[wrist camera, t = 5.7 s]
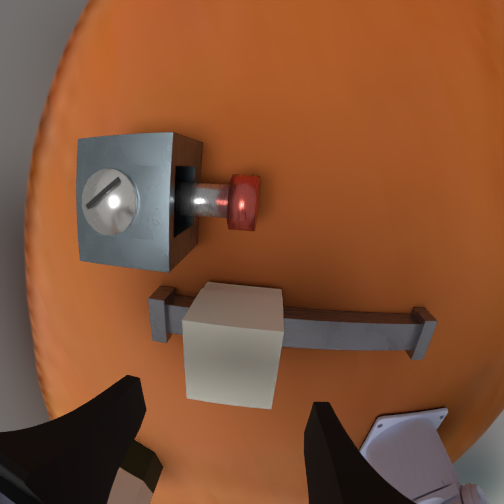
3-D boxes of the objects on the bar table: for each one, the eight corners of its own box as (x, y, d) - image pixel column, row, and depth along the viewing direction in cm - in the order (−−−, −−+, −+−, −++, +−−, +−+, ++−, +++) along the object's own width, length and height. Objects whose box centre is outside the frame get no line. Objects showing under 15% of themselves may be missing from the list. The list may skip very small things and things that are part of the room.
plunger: (256, 225, 15) (253, 236, 13) (179, 219, 15) (161, 229, 13) (260, 175, 14) (257, 176, 12) (180, 171, 15) (162, 172, 12)
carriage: (273, 354, 19) (271, 409, 14) (206, 346, 19) (187, 398, 14) (282, 286, 17) (283, 331, 12) (207, 278, 17) (182, 320, 12)
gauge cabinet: (197, 244, 17) (166, 275, 12) (124, 237, 18) (76, 262, 12) (202, 142, 16) (170, 131, 10) (126, 143, 16) (74, 138, 11)
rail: (412, 344, 18) (422, 359, 16) (162, 325, 19) (152, 340, 17) (424, 307, 17) (437, 321, 15) (160, 285, 18) (148, 298, 16)
